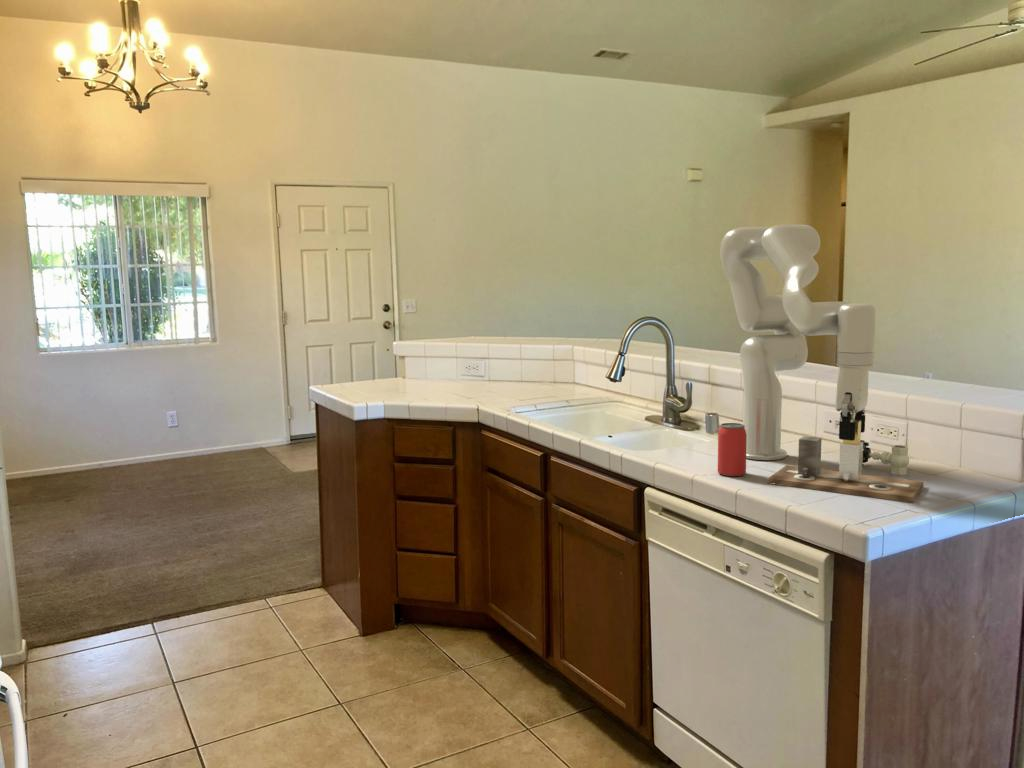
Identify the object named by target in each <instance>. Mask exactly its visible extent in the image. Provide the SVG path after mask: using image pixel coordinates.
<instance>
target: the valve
mask: <svg viewBox="0 0 1024 768" xmlns="http://www.w3.org/2000/svg"><path fill="white" fill-rule="evenodd" d="M860 442H863V460H862V468H863V467H864V465H865V463H868V462H869V459H872V460H874V461H881V464H884V465H888V464H889V465H890V473H891V475H896V476H907V475H908V466H909V463H910V457H909V454H908V453H909V447H908V446H907V445H902V444H893V445H891V452H890V451H883V452H882V453H880V452H877V451H873V452H872V449H871V448H870V443H869V442H868V441H867V442H866V441H865V440H863V439H860Z"/></svg>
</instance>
